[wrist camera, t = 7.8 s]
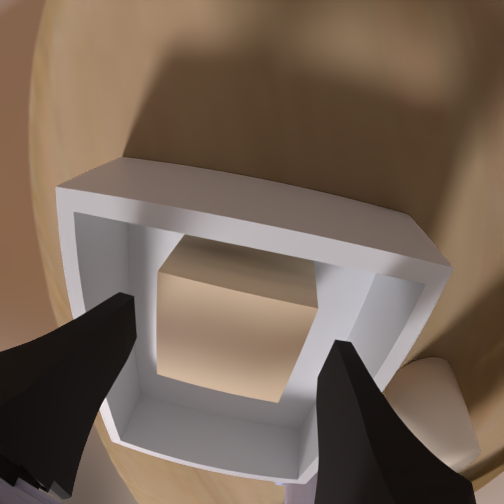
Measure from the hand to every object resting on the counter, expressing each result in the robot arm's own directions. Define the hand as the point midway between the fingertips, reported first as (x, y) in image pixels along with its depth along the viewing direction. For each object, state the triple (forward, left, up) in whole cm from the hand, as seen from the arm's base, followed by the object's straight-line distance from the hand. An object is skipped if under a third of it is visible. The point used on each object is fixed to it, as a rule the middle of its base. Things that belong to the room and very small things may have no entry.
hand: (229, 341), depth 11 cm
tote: (0, +4, -5) cm, 7 cm away
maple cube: (0, 0, -5) cm, 5 cm away
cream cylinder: (-13, +6, -5) cm, 15 cm away
